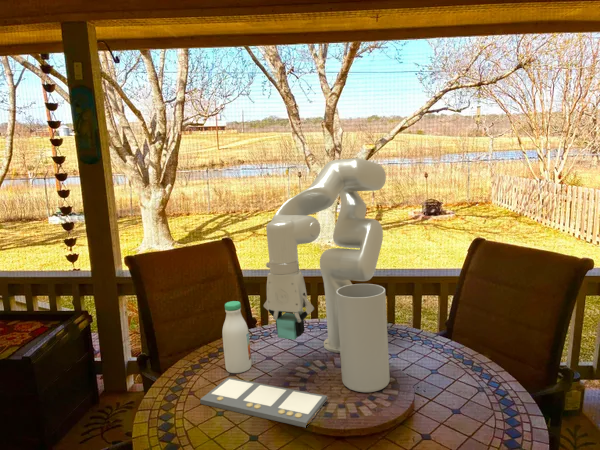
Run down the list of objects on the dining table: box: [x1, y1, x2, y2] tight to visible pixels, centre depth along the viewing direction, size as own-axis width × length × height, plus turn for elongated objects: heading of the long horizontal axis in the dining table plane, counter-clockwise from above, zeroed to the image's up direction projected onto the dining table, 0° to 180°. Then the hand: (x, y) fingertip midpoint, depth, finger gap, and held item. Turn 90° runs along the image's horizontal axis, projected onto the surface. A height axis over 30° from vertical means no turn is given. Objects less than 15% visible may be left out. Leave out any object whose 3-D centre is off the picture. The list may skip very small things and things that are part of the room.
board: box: [199, 377, 328, 429], centre depth 109 cm, size 12×30×2 cm, turn 63°
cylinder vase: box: [336, 283, 391, 393], centre depth 114 cm, size 12×12×25 cm
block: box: [275, 312, 298, 340], centre depth 115 cm, size 5×5×5 cm
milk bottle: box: [221, 300, 252, 374], centre depth 128 cm, size 8×8×20 cm
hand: (290, 332), depth 116 cm, fingers closed on block, 5 cm apart
